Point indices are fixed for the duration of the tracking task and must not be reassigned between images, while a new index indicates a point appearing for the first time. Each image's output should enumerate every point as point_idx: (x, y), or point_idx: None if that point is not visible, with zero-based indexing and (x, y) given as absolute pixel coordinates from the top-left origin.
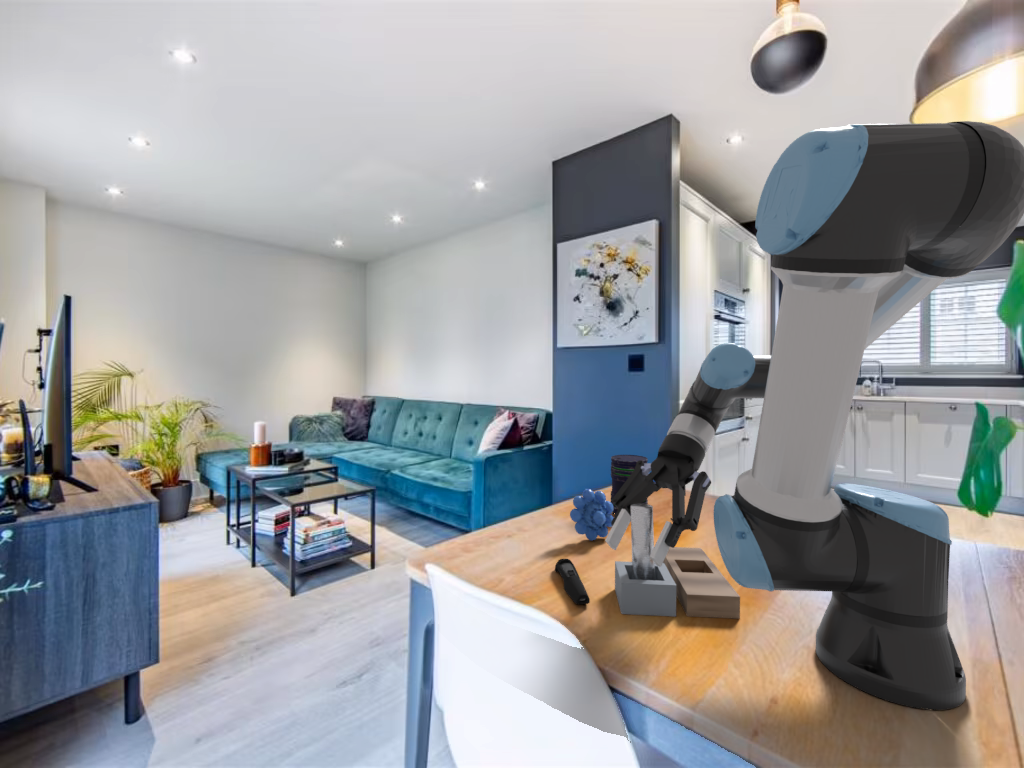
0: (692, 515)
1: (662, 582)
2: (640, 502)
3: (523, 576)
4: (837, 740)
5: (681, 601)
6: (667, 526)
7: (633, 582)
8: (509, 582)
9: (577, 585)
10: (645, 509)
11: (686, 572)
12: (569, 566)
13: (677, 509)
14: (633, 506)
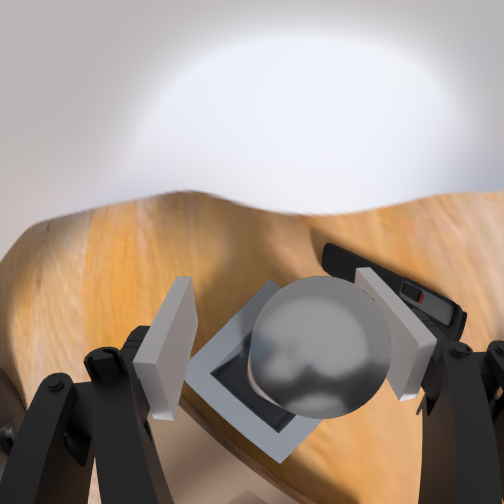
0: (33, 399)
1: (207, 360)
2: (425, 460)
3: (456, 254)
4: (5, 273)
5: (211, 424)
6: (145, 345)
7: (254, 303)
8: (445, 224)
9: (361, 261)
10: (262, 308)
11: (237, 494)
12: (439, 313)
13: (106, 429)
14: (354, 301)
